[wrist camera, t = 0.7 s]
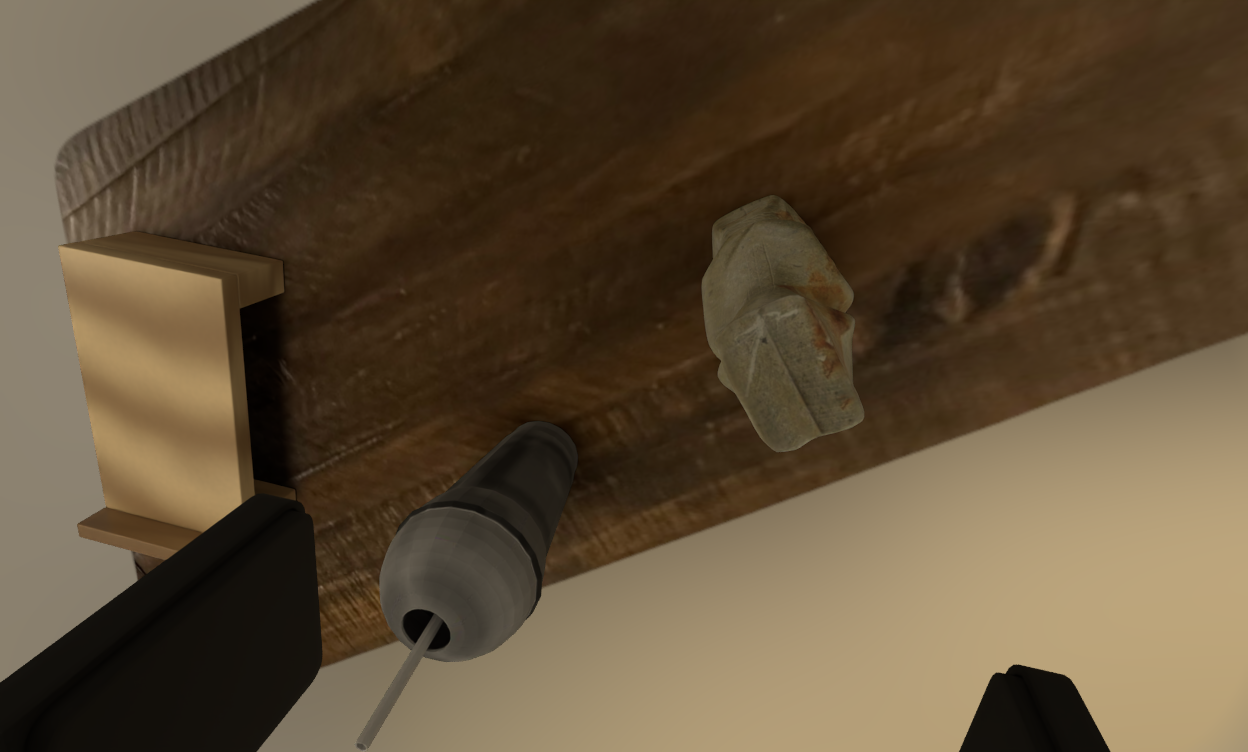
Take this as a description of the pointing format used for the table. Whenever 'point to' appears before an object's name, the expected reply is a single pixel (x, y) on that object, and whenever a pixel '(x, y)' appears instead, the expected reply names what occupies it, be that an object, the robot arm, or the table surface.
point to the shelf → (165, 383)
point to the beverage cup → (475, 556)
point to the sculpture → (780, 325)
